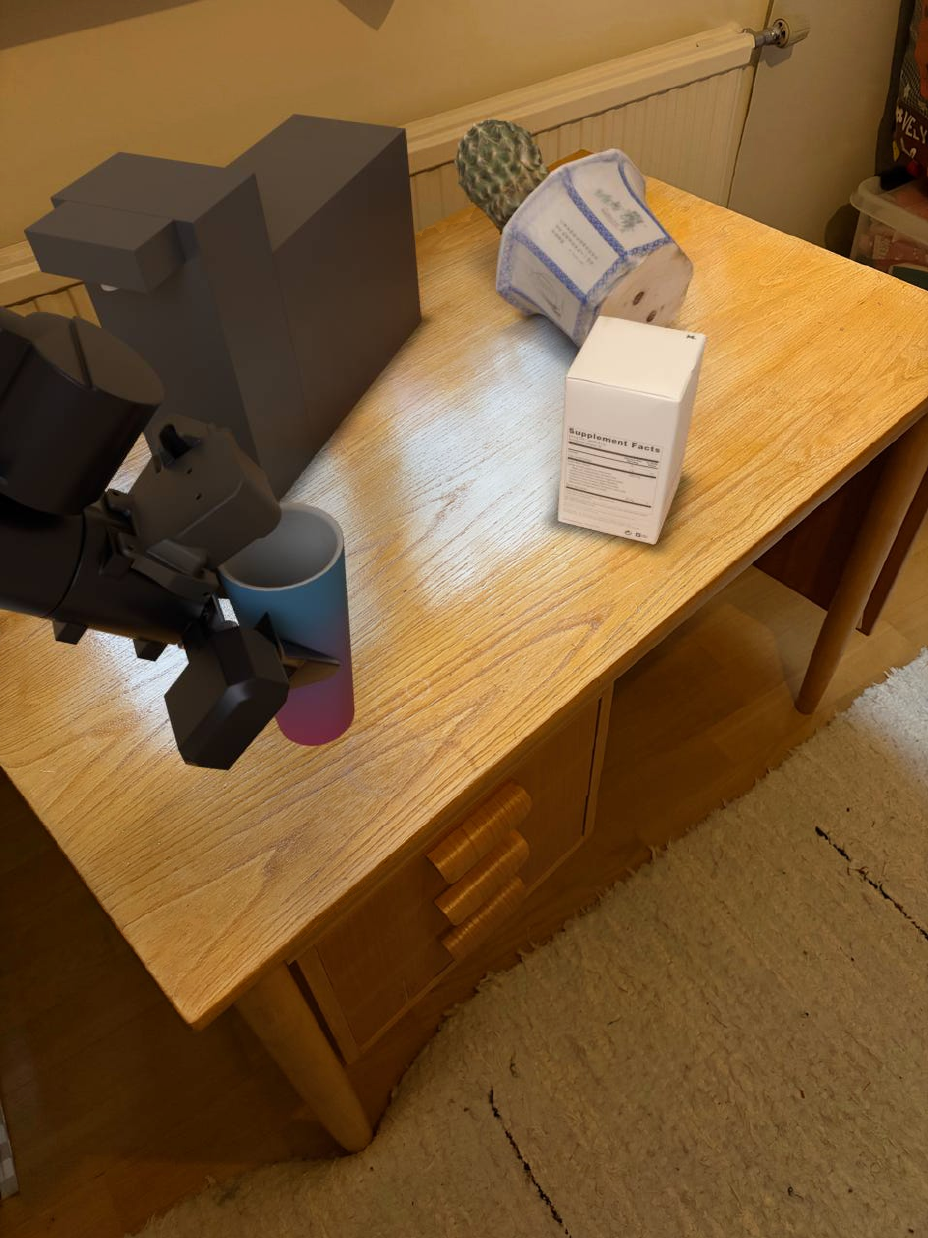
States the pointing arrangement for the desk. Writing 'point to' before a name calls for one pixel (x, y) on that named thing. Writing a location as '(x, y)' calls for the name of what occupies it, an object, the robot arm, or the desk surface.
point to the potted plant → (572, 233)
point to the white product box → (627, 426)
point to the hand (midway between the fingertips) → (319, 631)
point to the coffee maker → (251, 278)
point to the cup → (301, 612)
